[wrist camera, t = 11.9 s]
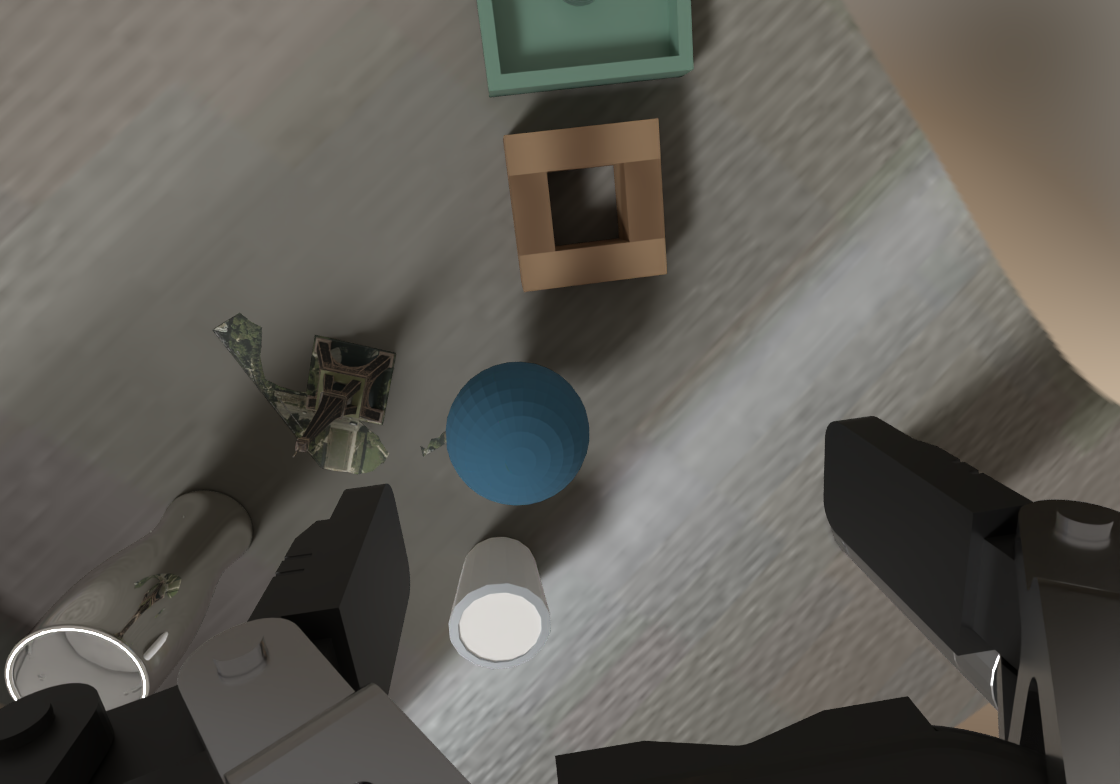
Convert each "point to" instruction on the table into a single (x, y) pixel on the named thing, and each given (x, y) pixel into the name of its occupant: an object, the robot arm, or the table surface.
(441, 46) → the table surface
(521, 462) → the light bulb
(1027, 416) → the table surface
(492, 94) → the tray
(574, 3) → the pin
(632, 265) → the socket block
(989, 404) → the table surface
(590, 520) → the table surface
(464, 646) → the white cylinder
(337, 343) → the eiffel tower figurine
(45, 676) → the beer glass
